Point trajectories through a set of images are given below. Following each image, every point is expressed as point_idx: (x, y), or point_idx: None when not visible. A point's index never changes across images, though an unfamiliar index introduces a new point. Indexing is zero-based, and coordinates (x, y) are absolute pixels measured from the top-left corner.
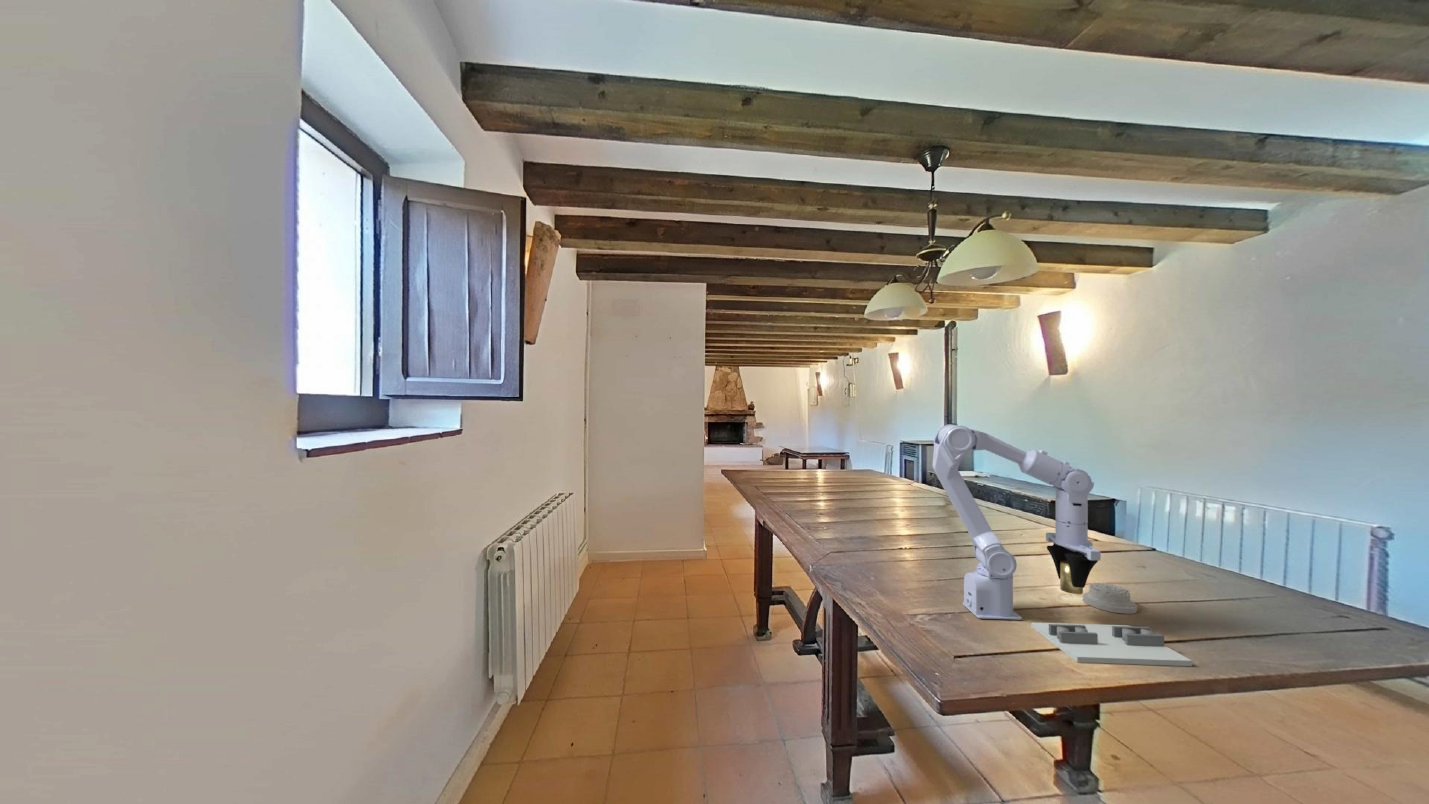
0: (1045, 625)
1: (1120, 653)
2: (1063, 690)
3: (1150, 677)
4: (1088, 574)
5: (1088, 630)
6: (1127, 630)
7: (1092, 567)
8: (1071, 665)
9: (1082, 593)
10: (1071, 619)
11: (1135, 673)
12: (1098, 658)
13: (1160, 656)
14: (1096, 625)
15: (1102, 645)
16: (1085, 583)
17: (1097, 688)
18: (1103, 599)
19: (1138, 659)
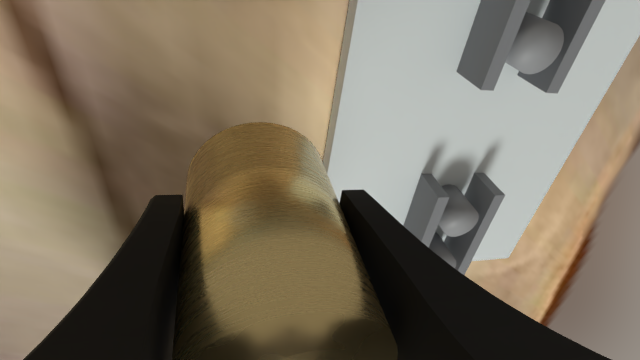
0: None
1: (548, 146)
2: (549, 307)
3: (621, 130)
4: (444, 263)
5: (395, 132)
6: (535, 54)
7: (526, 318)
8: (502, 263)
9: (312, 144)
10: (230, 83)
11: (592, 153)
12: (531, 215)
13: (628, 20)
14: (358, 58)
15: (494, 163)
16: (382, 207)
17: (575, 261)
18: None
19: (590, 116)
